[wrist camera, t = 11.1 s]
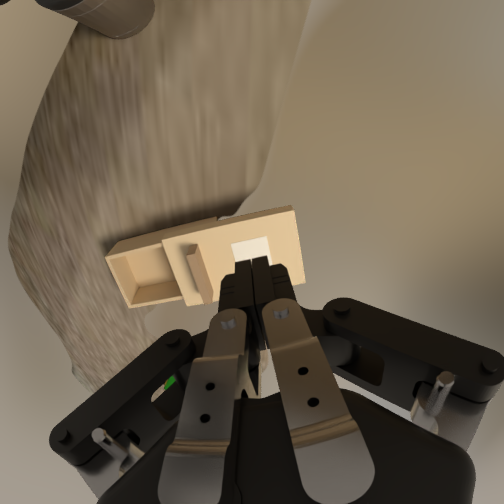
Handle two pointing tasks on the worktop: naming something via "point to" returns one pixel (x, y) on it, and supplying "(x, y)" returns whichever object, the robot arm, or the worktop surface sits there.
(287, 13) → the worktop surface
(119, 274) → the box
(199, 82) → the worktop surface
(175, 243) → the lid
